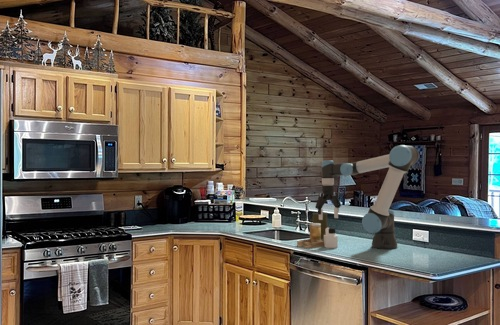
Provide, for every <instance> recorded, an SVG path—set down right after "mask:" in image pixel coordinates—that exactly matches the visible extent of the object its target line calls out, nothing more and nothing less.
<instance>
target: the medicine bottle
mask: <svg viewBox="0 0 500 325" xmlns="http://www.w3.org/2000/svg"><path fill="white" fill-rule="evenodd" d="M325 231H326V235H324V246H323V247H325V249H338V236H337V235H336V228H334V227H332V226H330V227H329V226H328V228H326V229H325Z"/></svg>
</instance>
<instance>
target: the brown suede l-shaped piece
mask: <svg viewBox="0 0 500 325" xmlns="http://www.w3.org/2000/svg"><path fill="white" fill-rule="evenodd" d="M296 245H297V247H301V248H306V249H307V248H308V249H316V248H322V247H324V239H322V240H321V224H320V223H313V222H311V223H309V239H308V238H307V239H301V240H296Z"/></svg>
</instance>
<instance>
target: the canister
mask: <svg viewBox="0 0 500 325" xmlns="http://www.w3.org/2000/svg"><path fill="white" fill-rule="evenodd" d="M311 215H312V223H320V224H321V240H322V239H324V235H326V231H325V229H326V228H328V227H329V226H328V225H329V224H328V212H324V211H323V220H319V214H318V211H316V212H312V214H311Z"/></svg>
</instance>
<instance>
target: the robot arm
mask: <svg viewBox="0 0 500 325" xmlns="http://www.w3.org/2000/svg"><path fill="white" fill-rule="evenodd" d="M419 159H420V152H419V150H418V149H417V148H416V147H414V146H413V145H405V144H400V145H395V146H394V147H393V148H392V149H391V150H390V152H389V154H384V155H380V156H377V157H372V158H368V159H363V160H359V161H355V162H354V161H353V162H351V163H350V162H343V163H341V162H340V163H334V160H322V161H321V191H322V192H319V193H318V198H317V201H316V204H315V206H314V207H315V209H317V212H318V214H319V220H323V212H324V210H323V207H324V205H325V203H326V201H329V200H330V201H331V203H332V205H333V214H334V215H333V217H334V219H339V211H340V210H339V208H341V207H342V204H341V201H340V199H339V196H338V192H336V191H335V185H334V184H335V176H343V177H344V176H356V175H358V174H363V173H366V172H367V173H368V172H372V171H377V170H378V171H379V170H382V169H386V168H388V171H387V173H386V176H385V178H384V180H383V182H382V185H381V188H380V190H379V192H378V194H377V197H376V200H375V202H374V204H373V205H372V206H370V207H369V209H368V212H367V213H365V214H364V215H363V217H362V220H361V223H362V226H363V229H364V230H365V231H367V232H368V233H369V234H370V233H372V234H374V235H373V238H372V242H371V247H372V248H374V249H381V250H382V249H383V250H385V249H387V250H389V249H392V250H393V249H397V248H398V242H397V239H396V236H395V212H394V210H393V209H390V207H391V205H392V202H393V200H394V198H395V196H396V194H397V191H398V188H399V186H400V184H401V183H402V182H401V181H402V180H403V177H404V174H406V173H408V172H409V170H410V168H411V166H413V165H415V164H416V163H417V162H418V161H419Z"/></svg>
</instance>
